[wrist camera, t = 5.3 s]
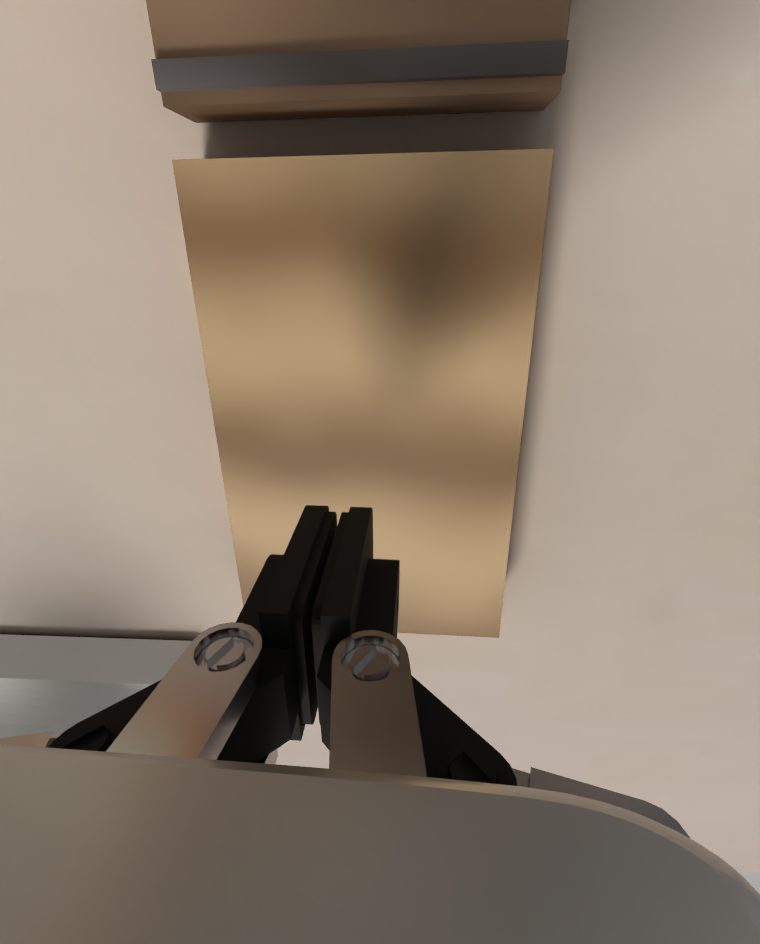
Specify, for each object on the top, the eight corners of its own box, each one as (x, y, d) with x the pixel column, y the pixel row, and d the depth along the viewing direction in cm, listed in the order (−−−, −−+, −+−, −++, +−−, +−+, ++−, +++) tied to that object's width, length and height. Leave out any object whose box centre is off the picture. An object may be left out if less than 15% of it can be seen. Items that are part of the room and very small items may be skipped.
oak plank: (202, 170, 15) (172, 160, 13) (537, 160, 14) (553, 148, 12) (261, 593, 22) (246, 625, 20) (492, 603, 21) (498, 637, 19)
